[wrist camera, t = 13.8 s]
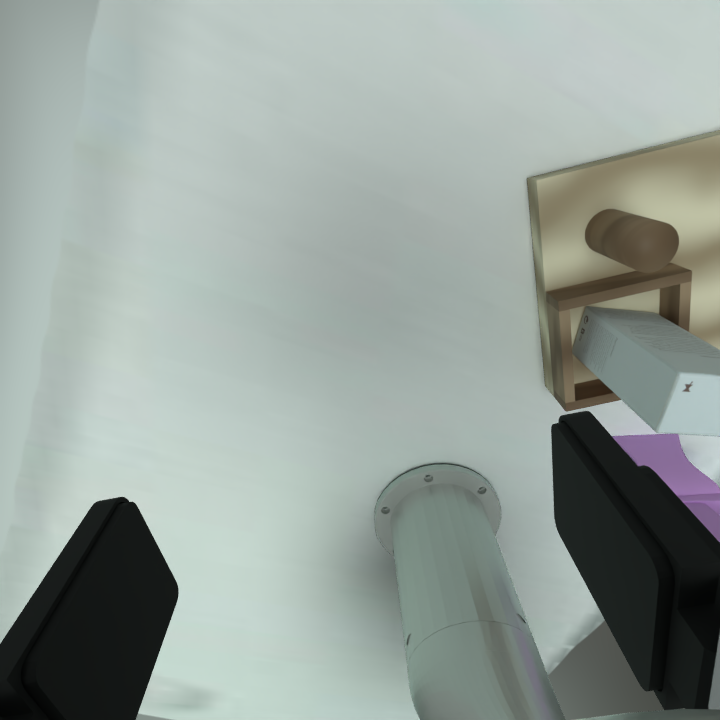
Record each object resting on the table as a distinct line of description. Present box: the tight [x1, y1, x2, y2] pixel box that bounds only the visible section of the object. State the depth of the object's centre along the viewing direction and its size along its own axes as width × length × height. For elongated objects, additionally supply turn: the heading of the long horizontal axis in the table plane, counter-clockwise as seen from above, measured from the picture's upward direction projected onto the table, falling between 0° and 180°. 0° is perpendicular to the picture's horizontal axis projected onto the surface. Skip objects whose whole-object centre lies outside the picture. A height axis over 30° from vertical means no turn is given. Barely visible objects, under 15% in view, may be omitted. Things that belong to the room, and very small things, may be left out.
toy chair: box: [612, 434, 720, 542], centre depth 41 cm, size 8×9×15 cm
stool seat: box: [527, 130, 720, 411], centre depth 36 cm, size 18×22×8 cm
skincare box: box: [572, 306, 720, 437], centre depth 34 cm, size 6×4×12 cm
